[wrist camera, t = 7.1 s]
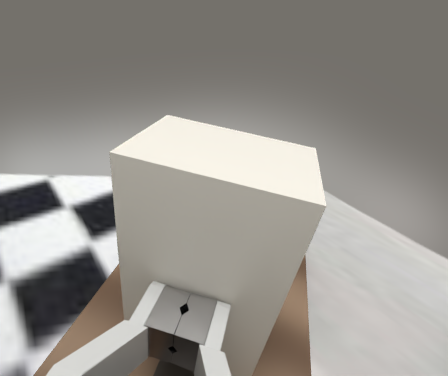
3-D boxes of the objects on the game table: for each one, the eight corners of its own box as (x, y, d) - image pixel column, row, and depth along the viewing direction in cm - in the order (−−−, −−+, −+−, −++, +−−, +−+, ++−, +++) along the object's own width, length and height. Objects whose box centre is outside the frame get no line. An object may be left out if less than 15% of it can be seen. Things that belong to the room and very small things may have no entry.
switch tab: (248, 383, 12) (326, 205, 7) (126, 342, 13) (109, 151, 7) (258, 306, 15) (315, 148, 10) (161, 277, 16) (167, 115, 11)
